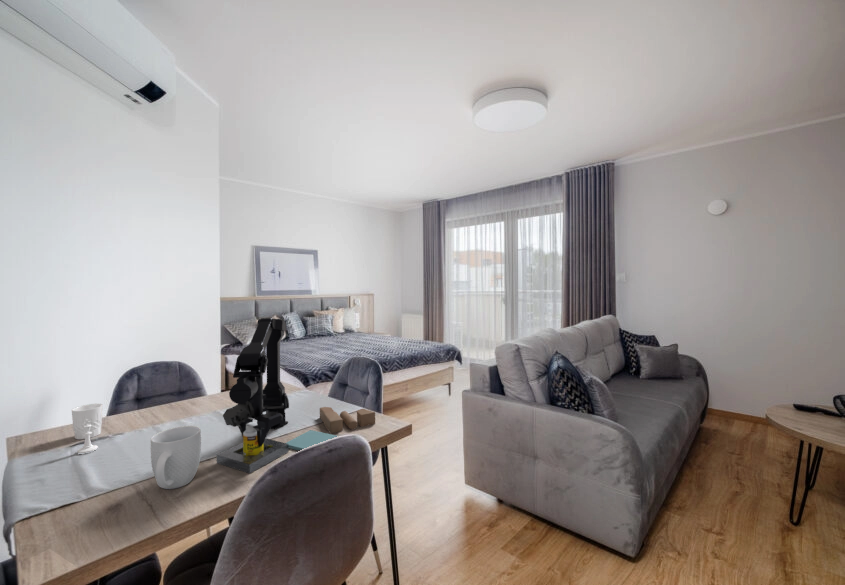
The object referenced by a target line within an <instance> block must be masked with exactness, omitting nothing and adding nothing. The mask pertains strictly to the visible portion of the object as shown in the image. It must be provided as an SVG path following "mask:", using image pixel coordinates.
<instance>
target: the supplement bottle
mask: <svg viewBox="0 0 845 585" xmlns="http://www.w3.org/2000/svg"><path fill="white" fill-rule="evenodd" d="M256 425H257V421H253V422H250V423H248V424H246V430H245V431H244V432H243V437H242V443H243V455H244V456H248V457H251V458H252V457H253V456H255V455H257V454H259V453H261V452H263V451H264V444H263V445H262V446H258V439H257V430H256V429H254V428H253V427H254V426H256Z"/></svg>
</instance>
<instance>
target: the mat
mask: <svg viewBox="0 0 845 585" xmlns="http://www.w3.org/2000/svg"><path fill="white" fill-rule="evenodd" d="M337 436H338V435H336V434H333V433H327V432H321V431H318V430H317V431H316V430H314V429H310V430H307V431H306V432H304V433H302V434H299V435H298V436H297V437H295V438H292V439H290V440H288V441H287V442H285V443H287V444H288V445H289V449H290V450H291V449H292V450H295V451H299V450H302V449H304V448H307V447H309V446H312V445H314V444H318V443H320V442H323V441H326V440H328V439H332V438H334V437H337Z"/></svg>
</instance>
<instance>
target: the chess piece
mask: <svg viewBox="0 0 845 585" xmlns="http://www.w3.org/2000/svg"><path fill="white" fill-rule="evenodd" d="M90 422H91V421H88V419H87V420H86V422H83V424H86V425H85V426H83V429H84V431H85V433H83V435H85V439H84V442H83V443H84V444H83V446H82V447H81V448H79V449H78V450H76V453H77V452H78V453H86V452H90V451H94V450H96V449H97V448H98V449H99V446H98V445H96V444H95V445H93V444H92V441H91V438H90V435H89V434H91V433H92V432H90V428H91V425H89V424H88V423H90ZM96 451H97V450H96ZM94 452H95V451H94Z"/></svg>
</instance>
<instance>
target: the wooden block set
mask: <svg viewBox="0 0 845 585" xmlns="http://www.w3.org/2000/svg"><path fill="white" fill-rule="evenodd" d="M319 418H320V419H321V421H322V422H323V425H324V427H325V428H326V430H327V431H328V432H329V434H334V433H340V432H342V431H344V427H343V426H344V425H343V424H345V426H347V427H348V428H349V429H350V430H355V429H356V428H358V426H360V427H365V426H371V425H375V424H376V412H375V411H372V410H368V409H365V408H361V409H358V410H356V420H355V419H354V417H353V416H351V415H350V413H348V411H346V410H342V411H341V412H340V413H339V414H338V412H336V411H335V410H334V409H333V408H332V407H328V406H323V407H320V408H319Z"/></svg>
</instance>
